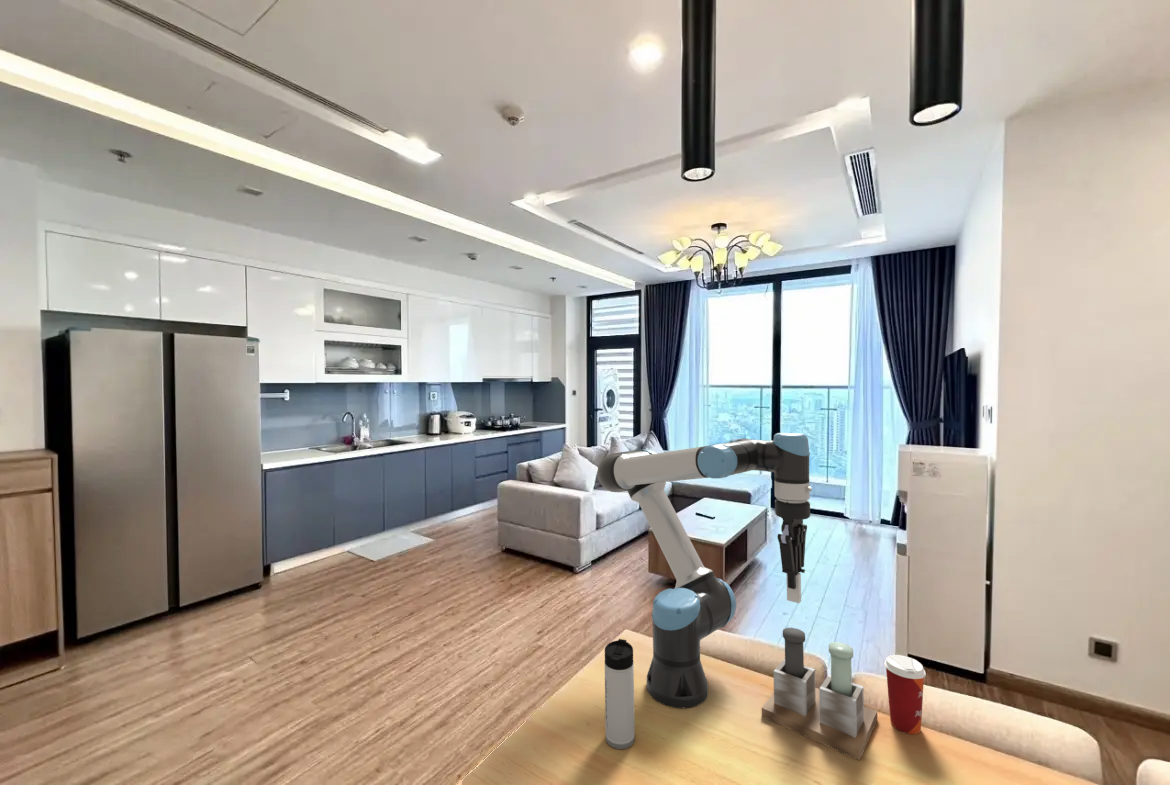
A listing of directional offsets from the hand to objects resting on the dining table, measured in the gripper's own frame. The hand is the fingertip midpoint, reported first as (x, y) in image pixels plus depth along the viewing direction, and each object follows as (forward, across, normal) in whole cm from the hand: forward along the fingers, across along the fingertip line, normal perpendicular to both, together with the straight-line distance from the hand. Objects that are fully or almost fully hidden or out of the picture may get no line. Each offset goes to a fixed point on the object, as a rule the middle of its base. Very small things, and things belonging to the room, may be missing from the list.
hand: (794, 600), depth 112 cm
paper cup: (+26, +11, -20) cm, 34 cm away
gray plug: (+19, 0, 0) cm, 19 cm away
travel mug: (+26, -34, +25) cm, 50 cm away
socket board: (+26, +1, -5) cm, 26 cm away
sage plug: (+19, 0, -10) cm, 21 cm away
